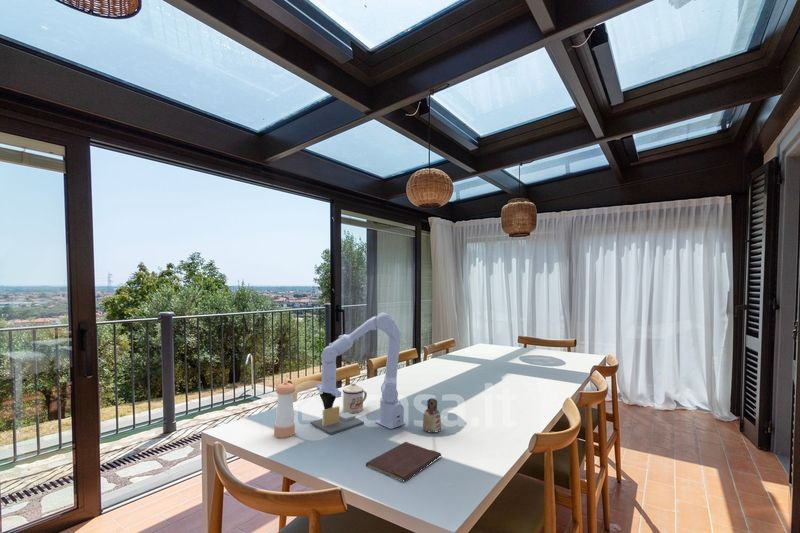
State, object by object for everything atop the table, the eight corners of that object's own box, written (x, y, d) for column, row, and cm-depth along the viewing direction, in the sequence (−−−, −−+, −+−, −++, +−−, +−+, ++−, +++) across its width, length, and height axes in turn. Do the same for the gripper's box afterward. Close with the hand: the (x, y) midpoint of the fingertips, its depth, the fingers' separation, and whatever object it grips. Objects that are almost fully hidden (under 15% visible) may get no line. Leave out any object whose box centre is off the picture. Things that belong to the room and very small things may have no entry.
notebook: (365, 467, 116) (366, 460, 116) (404, 446, 132) (405, 440, 132) (404, 484, 107) (404, 477, 107) (441, 459, 122) (441, 452, 123)
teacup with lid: (350, 415, 160) (351, 387, 160) (338, 409, 166) (338, 382, 167) (372, 408, 168) (372, 382, 168) (360, 403, 175) (360, 378, 175)
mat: (363, 423, 150) (364, 421, 150) (330, 434, 139) (330, 432, 139) (343, 414, 160) (343, 412, 160) (310, 424, 149) (310, 422, 149)
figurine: (442, 427, 148) (442, 396, 148) (439, 434, 141) (439, 401, 142) (424, 425, 150) (425, 394, 150) (421, 431, 143) (421, 399, 143)
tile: (339, 422, 150) (339, 406, 150) (324, 426, 145) (324, 410, 145) (337, 421, 150) (337, 406, 151) (322, 425, 146) (322, 410, 146)
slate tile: (355, 418, 153) (355, 415, 153) (345, 421, 150) (345, 418, 150) (346, 414, 158) (346, 411, 158) (336, 417, 154) (336, 414, 154)
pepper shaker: (273, 431, 141) (275, 380, 142) (293, 429, 144) (294, 378, 145) (274, 439, 135) (275, 385, 135) (295, 436, 137) (296, 383, 138)
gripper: (310, 375, 152) (309, 409, 152) (330, 382, 142) (329, 419, 141) (325, 372, 157) (324, 405, 157) (345, 379, 147) (345, 414, 146)
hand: (328, 411), depth 149 cm, fingers closed
